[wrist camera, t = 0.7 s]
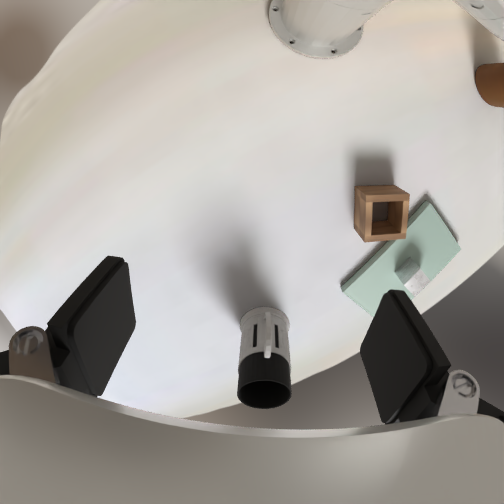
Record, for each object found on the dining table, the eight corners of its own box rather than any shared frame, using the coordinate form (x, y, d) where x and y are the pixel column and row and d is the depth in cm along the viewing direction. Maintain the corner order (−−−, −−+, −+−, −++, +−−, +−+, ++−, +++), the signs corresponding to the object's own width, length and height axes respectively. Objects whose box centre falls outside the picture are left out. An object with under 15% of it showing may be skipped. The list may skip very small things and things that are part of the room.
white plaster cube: (409, 256, 40) (420, 268, 36) (420, 268, 41) (430, 281, 37) (394, 271, 41) (403, 285, 38) (405, 283, 42) (414, 296, 39)
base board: (425, 200, 37) (430, 203, 36) (456, 245, 40) (461, 249, 39) (340, 287, 45) (342, 292, 43) (380, 319, 48) (383, 325, 46)
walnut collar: (354, 186, 37) (366, 195, 33) (394, 184, 37) (409, 194, 32) (354, 228, 40) (364, 242, 35) (392, 225, 39) (405, 238, 35)
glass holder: (239, 342, 51) (233, 409, 37) (240, 278, 44) (230, 346, 31) (286, 344, 51) (291, 411, 37) (295, 280, 44) (307, 348, 31)
